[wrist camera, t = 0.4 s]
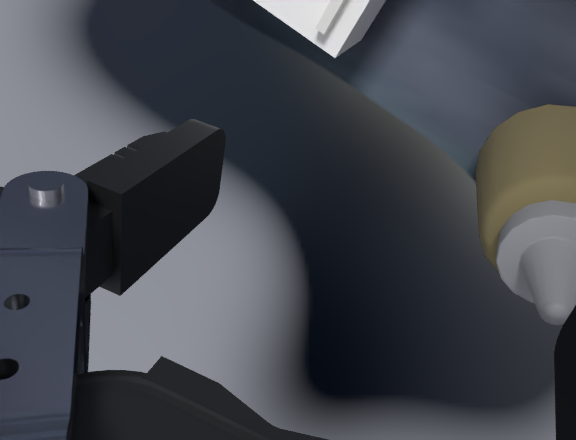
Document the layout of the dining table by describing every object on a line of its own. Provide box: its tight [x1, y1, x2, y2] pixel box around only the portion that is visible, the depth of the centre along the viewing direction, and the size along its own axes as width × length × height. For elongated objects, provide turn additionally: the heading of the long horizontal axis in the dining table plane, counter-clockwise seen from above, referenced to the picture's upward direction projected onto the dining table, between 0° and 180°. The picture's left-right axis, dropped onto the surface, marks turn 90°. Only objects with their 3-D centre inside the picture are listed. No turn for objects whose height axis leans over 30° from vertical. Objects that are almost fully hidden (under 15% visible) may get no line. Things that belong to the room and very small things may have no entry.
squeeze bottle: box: [476, 104, 576, 325], centre depth 28 cm, size 8×8×18 cm
